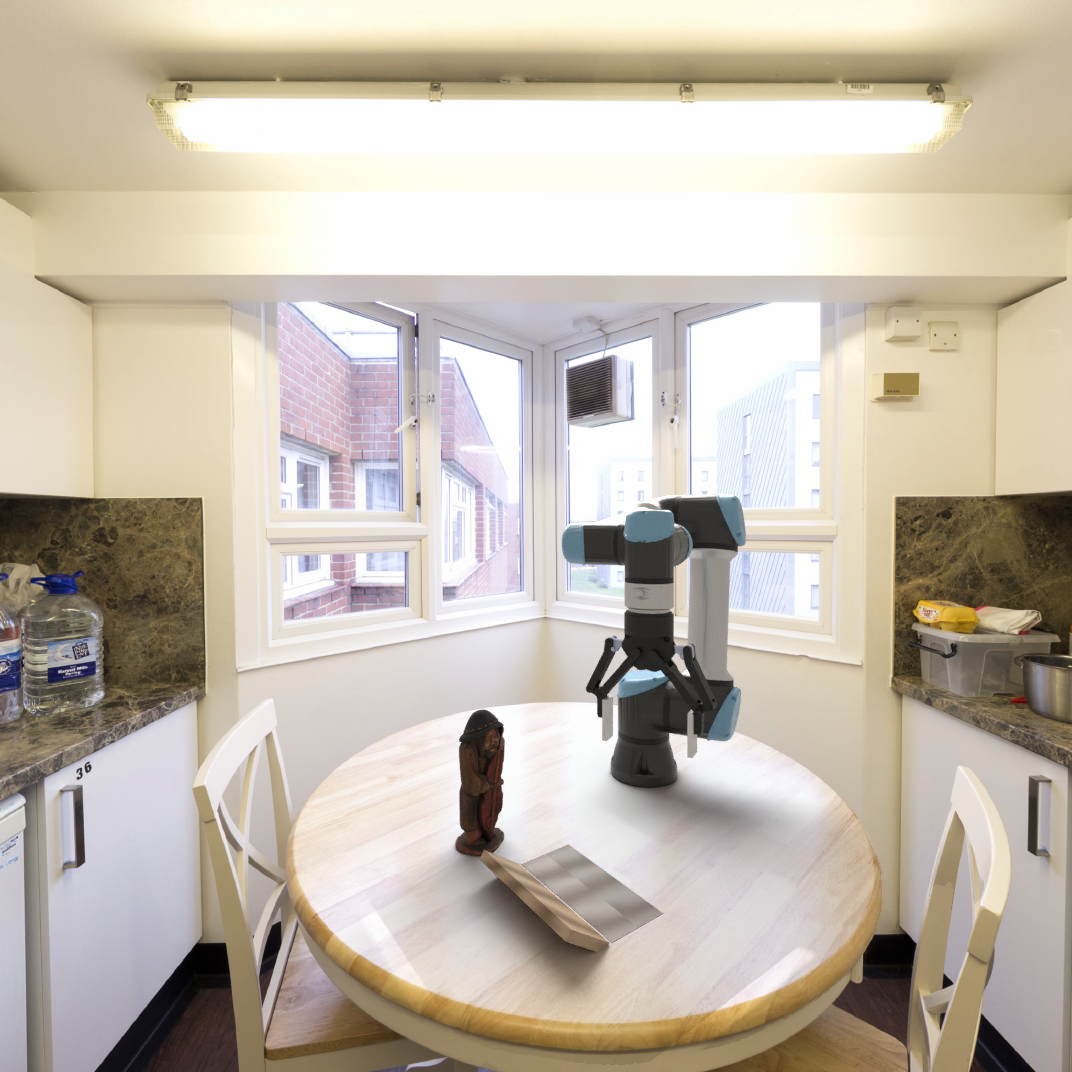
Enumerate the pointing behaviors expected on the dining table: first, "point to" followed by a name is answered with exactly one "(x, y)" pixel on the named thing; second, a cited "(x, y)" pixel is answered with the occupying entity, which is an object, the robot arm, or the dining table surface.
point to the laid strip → (592, 892)
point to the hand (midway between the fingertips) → (648, 746)
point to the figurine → (481, 784)
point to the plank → (544, 903)
